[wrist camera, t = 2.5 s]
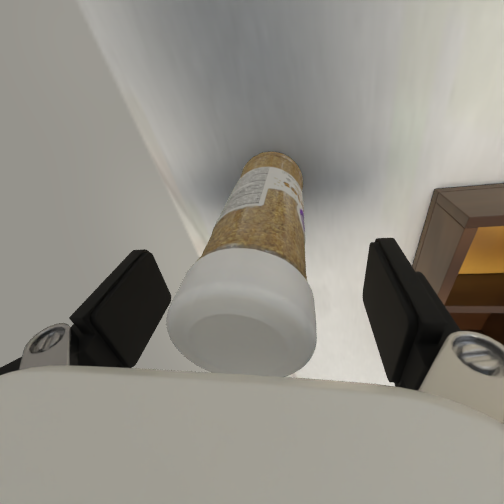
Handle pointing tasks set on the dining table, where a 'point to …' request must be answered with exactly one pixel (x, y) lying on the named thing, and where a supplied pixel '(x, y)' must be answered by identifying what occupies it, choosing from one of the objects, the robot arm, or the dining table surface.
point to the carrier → (466, 256)
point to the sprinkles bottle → (251, 280)
